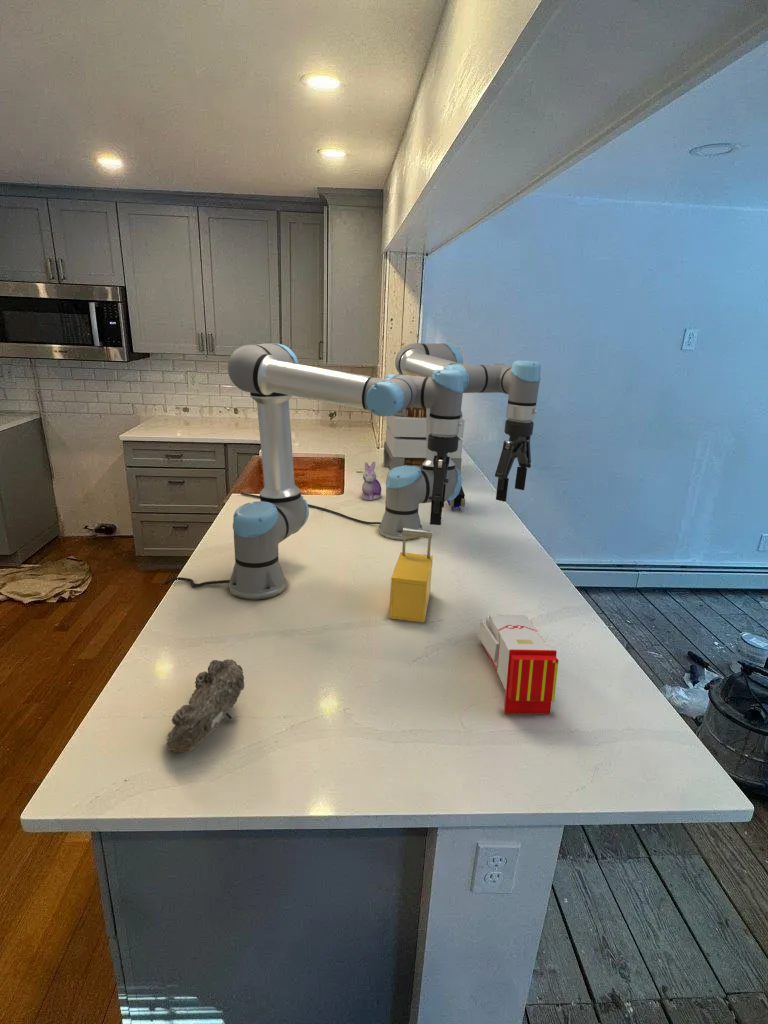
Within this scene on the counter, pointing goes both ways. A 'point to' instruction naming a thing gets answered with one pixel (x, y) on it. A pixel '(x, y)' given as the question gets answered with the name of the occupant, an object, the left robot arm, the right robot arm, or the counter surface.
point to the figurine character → (458, 500)
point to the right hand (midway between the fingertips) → (510, 494)
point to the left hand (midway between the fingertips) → (437, 515)
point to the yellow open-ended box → (409, 600)
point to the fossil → (206, 705)
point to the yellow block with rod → (413, 561)
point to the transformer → (412, 439)
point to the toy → (521, 662)
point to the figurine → (370, 483)
